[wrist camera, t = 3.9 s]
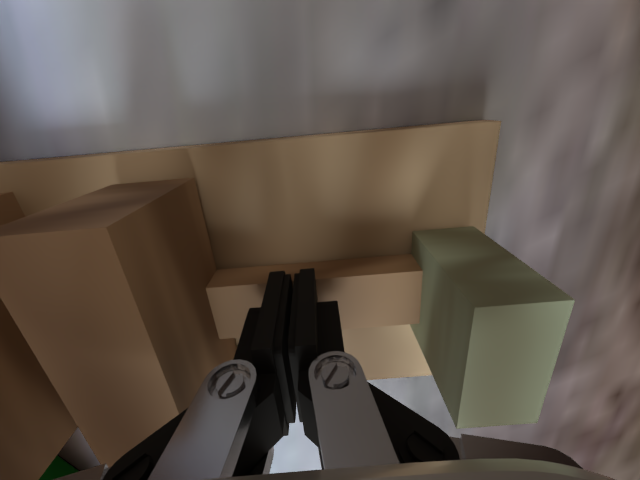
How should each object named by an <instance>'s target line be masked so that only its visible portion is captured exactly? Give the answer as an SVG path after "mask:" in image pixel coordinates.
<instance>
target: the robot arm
mask: <svg viewBox="0 0 640 480" xmlns="http://www.w3.org/2000/svg"><path fill="white" fill-rule="evenodd" d="M296 402H297V408H298V414H299V420H300V422H303V426H304V433H305V435H306V436H307V437H308V438H309V439H310V440H311V441H312V442H313V443H314V444H315V445H316V446H317V447H318V450H319V456H320V462H321V468H322V470H311V471H299V472H287V473H275V474H269V472H270V468H271V464H272V460H273V455H274V447H273V446H274V445H275V444H276V443H277V442H278V441H279V440H280V439H281V438H282V437H283V436H287V435H288V432H289V423H295V418H296ZM53 480H615V479H613V478H610V477H607V476H604V475H601V474H598V473H594V472H591V471H588V470H584V469H583V468H582V467H581V466H580V465H579V464H577V463H576V462H575V461H574V460H573V459H572V458H571V457H569V456H567V455H566V454H564V453H562V452H560V451H559V450H556V449H553V448H550V447H546V446H541V445H534V444H528V443H521V442H514V441H507V440H500V439H494V438H487V437H480V436H473V435H466V434H461V436H460V438H455V437H449V436H448V435H447V434H446V433H445V432H444V431H442V430H441V429H440V428H439V427H437V426H436V425H434V424H432V423H431V422H429V421H428V420H426V419H425V418H423V417H422V416H420V415H418V414H417V413H415V412H414V411H412V410H411V409H409V408H408V407H406V406H404V405H403V404H401V403H400V402H398V401H397V400H395V399H394V398H392V397H390V396H389V395H387V394H386V393H384V392H383V391H381V390H380V389H378V388H376V387H375V386H373V385H372V384H370V383H369V382H367V379H366V377H365V374H364V372H363V369H362V366H361V365H360V363H359V361H358V360H357V359H356V358H355V357H354V356H352V355H350V354H348V353H346V352H345V351H344V344H343V337H342V329H341V322H340V315H339V308H338V301H326V302H318V299H317V289H316V279H315V270H314V268H308V269H300V273H295V274H294V283H293V286H292V279H291V274H286V273H285V271H274V272H270V273H269V276H268V280H267V285H266V289H265V293H264V297H263V301H262V305H261V307H256V308H250V309H249V310H248V313H247V316H246V320H245V323H244V326H243V329H242V333H241V336H240V339H239V343H238V346H237V349H236V352H235V356H234V359H233V360H230V361H227V362H224V363H222V364H220V365H218V366H216V367H215V368H214V369H213V370H212V371H210V372H209V373H208V375H207V376H206V377H205V379H204V380H203V382H202V384H201V386H200V388H199V389H198V391H197V393H196V395H195V396H194V398H193V400H192V402H191V404H190V405H189V407H188V408H187V409H185V410H184V411H183V412H181V413H180V414H179V415H177V416H176V417H175V418H173V419H172V420H170V421H169V422H168V423H166V424H165V425H164V426H162V427H161V428H159V429H158V430H157V431H155V432H154V433H153V434H151V435H150V436H149V437H147V438H146V439H144V440H143V441H142V442H140V443H139V444H138V445H136V446H135V447H134V448H132V449H131V450H129V451H128V452H127V453H125V454H124V455H123V456H122V457H121V458H120V459H118V460H117V461H116V462H115V463H114V464H113V465H112V467H108V466H107V464H106V463H105V464H102V465H99V466H95V467H92V468H89V469H86V470H82V471H79V472H76V473H73V474H69V475H66V476H63V477H60V478H56V479H53Z"/></svg>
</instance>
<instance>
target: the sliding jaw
mask: <svg viewBox="0 0 640 480" xmlns="http://www.w3.org/2000/svg"><path fill="white" fill-rule="evenodd" d="M308 268H314V270H315V279H316V289H317V299H318V302H326V301H338V308H339V315H340V322H341V329H342V330H343V329H356V328H369V327H382V326H395V325H408V324H410V326H411V328H412V330H413V333H414V335H415V337H416V339H417V342H418V344H419V346H420V348H421V350H422V353H423V355H424V357H425V359H426V362H427V364H428V366H429V368H430V371H431V373H432V375H433V377H434V379H435V382H436V384H437V386H438V388H439V391H440V393H441V395H442V397H443V400H444V402H445V404H446V406H447V408H448V411H449V413H450V415H451V417H452V420H453V422H454V424H455V426H456V429H459V428H473V427H487V426H500V425H514V424H528V423H537V422H538V418H539V415H540V412H541V409H542V405H543V402H544V399H545V396H546V392H547V389H548V386H549V383H550V379H551V376H552V373H553V370H554V366H555V363H556V360H557V357H558V353H559V350H560V347H561V344H562V340H563V337H564V334H565V331H566V327H567V324H568V321H569V318H570V314H571V311H572V308H573V305H574V301H575V300H574V299H573V298H572V297H570V296H569V295H567V294H566V293H565V292H563V291H562V290H561V289H559V288H558V287H556V286H555V285H554V284H552V283H551V282H550V281H548V280H547V279H545V278H544V277H543V276H541V275H540V274H539V273H537V272H536V271H534V270H533V269H532V268H530V267H529V266H528V265H526V264H525V263H523V262H522V261H521V260H519V259H518V258H517V257H515V256H514V255H512V254H511V253H510V252H508V251H507V250H506V249H504V248H503V247H501V246H500V245H499V244H497V243H496V242H495V241H493V240H492V239H490V238H489V237H488V236H486V235H485V234H484V233H482V232H481V231H479V230H478V229H477V228H475V227H474V226H469V227H457V228H445V229H433V230H421V231H412V250H411V254H404V255H391V256H379V257H367V258H354V259H342V260H330V261H318V262H305V263H293V264H281V265H268V266H256V267H244V268H231V269H219V270H217V269H216V265H215V260H214V256H213V252H212V248H211V244H210V240H209V236H208V232H207V228H206V224H205V220H204V216H203V212H202V208H201V204H200V200H199V196H198V192H197V188H196V184H195V180H194V178H184V179H172V180H161V181H149V182H137V183H126V184H114V185H110V186H107V187H104V188H102V189H99V190H96V191H94V192H91V193H88V194H85V195H83V196H80V197H77V198H75V199H72V200H69V201H67V202H64V203H61V204H58V205H56V206H53V207H50V208H48V209H45V210H42V211H40V212H37V213H34V214H31V215H29V216H26V217H23V218H21V219H18V220H15V221H13V222H10V223H7V224H4V225H2V226H0V298H1V300H2V301H3V303H4V304H5V306H6V308H7V309H8V311H9V313H10V314H11V316H12V318H13V319H14V321H15V323H16V324H17V326H18V328H19V329H20V331H21V333H22V334H23V336H24V338H25V339H26V341H27V343H28V344H29V346H30V348H31V349H32V351H33V353H34V354H35V356H36V358H37V359H38V361H39V363H40V364H41V366H42V368H43V369H44V371H45V373H46V374H47V376H48V378H49V379H50V381H51V383H52V384H53V386H54V388H55V389H56V391H57V393H58V394H59V396H60V398H61V399H62V401H63V403H64V404H65V406H66V408H67V409H68V411H69V413H70V414H71V416H72V418H73V419H74V421H75V423H76V424H77V426H78V427H79V429H80V431H81V432H82V434H83V436H84V437H85V439H86V441H87V442H88V444H89V446H90V447H91V449H92V451H93V452H94V454H95V456H96V457H97V459H98V461H99V462H100V464H101V465H102V464H105V463H106V464H107V466H108V467H112V465H113V464H114V463H115V462H116V461H117V460H118V459H120V458H121V457H122V456H123V455H124V454H125V453H127V452H128V451H129V450H131V449H132V448H134V447H135V446H136V445H138V444H139V443H140V442H142V441H143V440H144V439H146V438H147V437H149V436H150V435H151V434H153V433H154V432H155V431H157V430H158V429H159V428H161V427H162V426H164V425H165V424H166V423H168V422H169V421H170V420H172V419H173V418H175V417H176V416H177V415H179V414H180V413H181V412H183V411H184V410H185V409H187V408H188V407H189V405H190V404H191V402H192V400H193V398H194V396H195V395H196V393H197V391H198V389H199V388H200V386H201V384H202V382H203V380H204V379H205V377H206V376H207V375H208V373H209V372H210V371H212V370H213V369H214V368H215V367H216V366H218V365H220V364H222V363H224V362H227V361H230V360H233V359H234V356H235V352H236V345H235V341H234V338H240V336H241V333H242V329H243V326H244V323H245V320H246V316H247V313H248V310H249V309H250V308H256V307H261V305H262V301H263V297H264V293H265V289H266V285H267V280H268V276H269V273H270V272H274V271H285V273H286V274H291V279H292V286H293V283H294V274H295V273H300V269H308Z"/></svg>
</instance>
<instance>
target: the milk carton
mask: <svg viewBox="0 0 640 480" xmlns="http://www.w3.org/2000/svg"><path fill="white" fill-rule="evenodd" d="M76 472H79V471H78V470H77V469H76V468H74V467H73V466H71V465H70V464H69V463H67V462H66V461H64V460H63V459H62V458H60V457H59V456H56V457H55V458H54V460H53V461H52V462H51V464H50V465H49V466H48V468H47V469H46V470H45V472H44V473H43V475H42V476H41V477H40V479H39V480H53V479H56V478H60V477H63V476H66V475H69V474H73V473H76Z"/></svg>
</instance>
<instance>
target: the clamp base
mask: <svg viewBox="0 0 640 480" xmlns="http://www.w3.org/2000/svg"><path fill="white" fill-rule="evenodd" d="M500 125H501V121H494V120H476V121H465V122H453V123H442V124H431V125H419V126H408V127H396V128H385V129H373V130H362V131H350V132H339V133H327V134H316V135H304V136H293V137H281V138H270V139H259V140H247V141H236V142H224V143H213V144H201V145H190V146H178V147H167V148H155V149H144V150H132V151H121V152H109V153H98V154H86V155H75V156H64V157H52V158H41V159H29V160H18V161H6V162H0V226H2V225H4V224H7V223H10V222H13V221H15V220H18V219H21V218H23V217H26V216H29V215H31V214H34V213H37V212H40V211H42V210H45V209H48V208H50V207H53V206H56V205H58V204H61V203H64V202H67V201H69V200H72V199H75V198H77V197H80V196H83V195H85V194H88V193H91V192H94V191H96V190H99V189H102V188H104V187H107V186H110V185H114V184H126V183H137V182H149V181H161V180H172V179H184V178H194V180H195V184H196V188H197V192H198V196H199V200H200V204H201V208H202V212H203V216H204V220H205V224H206V228H207V232H208V236H209V240H210V244H211V248H212V252H213V256H214V260H215V265H216V269H217V270H219V269H231V268H244V267H256V266H268V265H281V264H293V263H305V262H318V261H330V260H342V259H354V258H367V257H379V256H391V255H404V254H411V250H412V231H421V230H433V229H445V228H457V227H469V226H474V227H475V228H477V229H478V230H479V231H481V232H482V233H485V226H486V220H487V213H488V206H489V199H490V193H491V186H492V179H493V172H494V166H495V159H496V152H497V146H498V139H499V132H500ZM342 337H343V344H344V351H345V352H346V353H348V354H350V355H352V356H354V357H355V358H356V359H357V360H358V361H359V363H360V365H361V366H362V369H363V372H364V374H365V377H366V379H367V380H373V379H387V378H400V377H413V376H426V375H432V373H431V371H430V368H429V366H428V364H427V362H426V359H425V357H424V355H423V353H422V350H421V348H420V346H419V344H418V342H417V339H416V337H415V335H414V333H413V330H412V328H411V326H410V324H408V325H395V326H382V327H369V328H356V329H343V330H342ZM239 339H240V338H234V341H235V345H236V349H237V346H238V343H239ZM77 427H78V426H77V424H76V423H75V421H74V419H73V418H72V416H71V414H70V413H69V411H68V409H67V408H66V406H65V404H64V403H63V401H62V399H61V398H60V396H59V394H58V393H57V391H56V389H55V388H54V386H53V384H52V383H51V381H50V379H49V378H48V376H47V374H46V373H45V371H44V369H43V368H42V366H41V364H40V363H39V361H38V359H37V358H36V356H35V354H34V353H33V351H32V349H31V348H30V346H29V344H28V343H27V341H26V339H25V338H24V336H23V334H22V333H21V331H20V329H19V328H18V326H17V324H16V323H15V321H14V319H13V318H12V316H11V314H10V313H9V311H8V309H7V308H6V306H5V304H4V303H3V301H2V300H1V298H0V480H39V479H40V477H41V476H42V475H43V473H44V472H45V470H46V469H47V468H48V466H49V465H50V464H51V462H52V461H53V460H54V458H55V457H56V456H57V454H58V453H59V452H60V450H61V449H62V448H63V446H64V445H65V444H66V442H67V441H68V440H69V438H70V437H71V436H72V434H73V433H74V431H75V430H76V429H77Z"/></svg>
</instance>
